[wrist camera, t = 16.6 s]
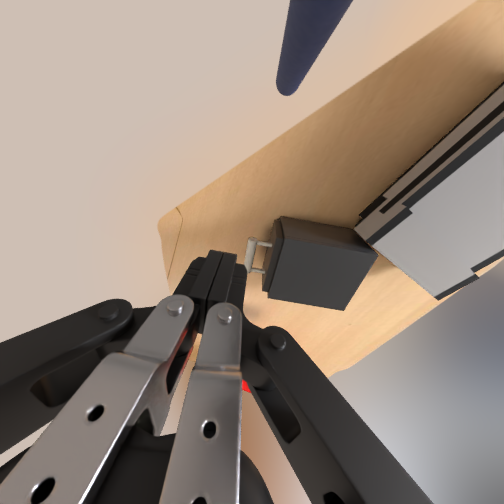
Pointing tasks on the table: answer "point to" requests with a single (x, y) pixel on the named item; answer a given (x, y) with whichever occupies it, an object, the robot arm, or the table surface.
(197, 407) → the robot arm
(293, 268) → the grey drawer cabinet
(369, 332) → the table surface
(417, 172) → the game console
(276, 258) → the dark grey drawer
